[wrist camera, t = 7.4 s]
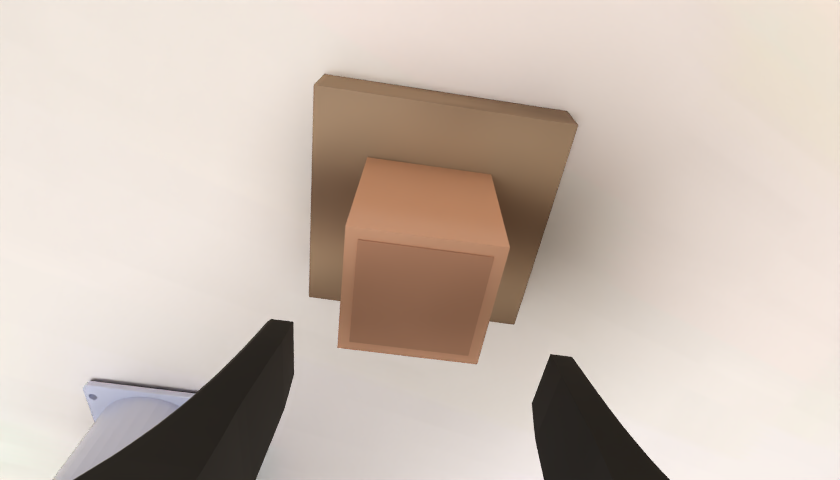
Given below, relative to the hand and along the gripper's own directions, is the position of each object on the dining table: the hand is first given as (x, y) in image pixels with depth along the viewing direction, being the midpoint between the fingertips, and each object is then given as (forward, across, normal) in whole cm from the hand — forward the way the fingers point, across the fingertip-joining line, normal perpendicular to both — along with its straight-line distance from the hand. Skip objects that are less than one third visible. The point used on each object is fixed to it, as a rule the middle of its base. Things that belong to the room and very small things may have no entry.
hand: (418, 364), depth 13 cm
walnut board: (+11, 0, 0) cm, 11 cm away
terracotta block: (+8, 0, 0) cm, 8 cm away
